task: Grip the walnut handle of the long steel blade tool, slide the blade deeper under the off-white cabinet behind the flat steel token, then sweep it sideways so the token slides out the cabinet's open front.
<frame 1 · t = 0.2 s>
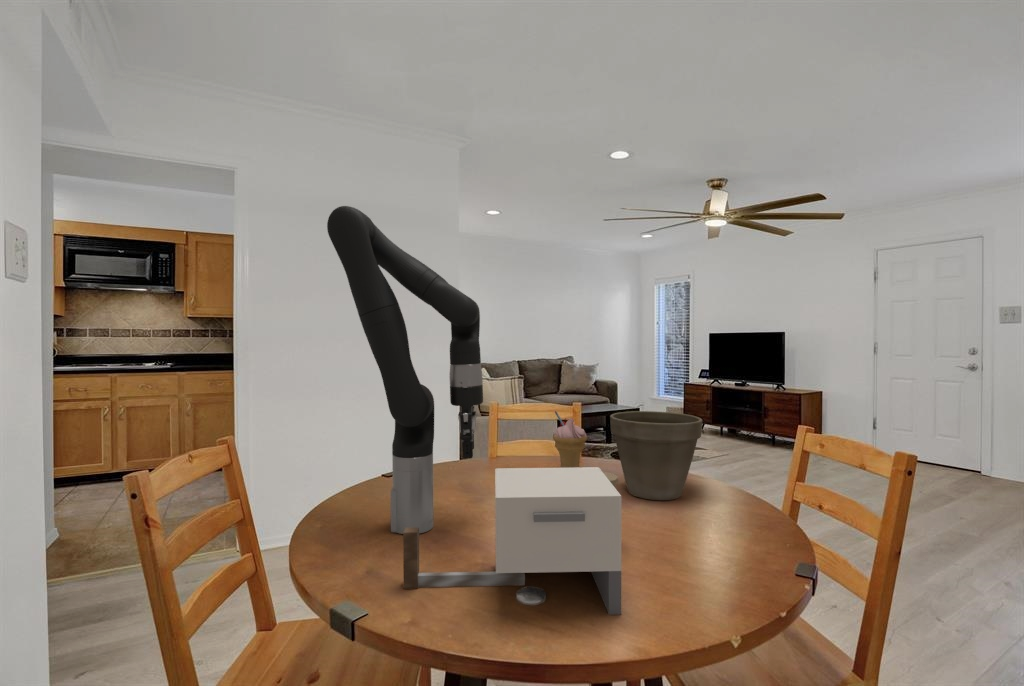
hand: (468, 453, 121), 17 cm above the table, tool pointing down, fingers open, 8 cm apart
plant pot: (655, 493, 147), on the table
ice cream cone: (569, 474, 168), on the table
cabinet: (552, 588, 92), on the table
handle: (605, 548, 110), on the table
token: (531, 599, 89), on the table
blade tool: (411, 585, 93), on the table
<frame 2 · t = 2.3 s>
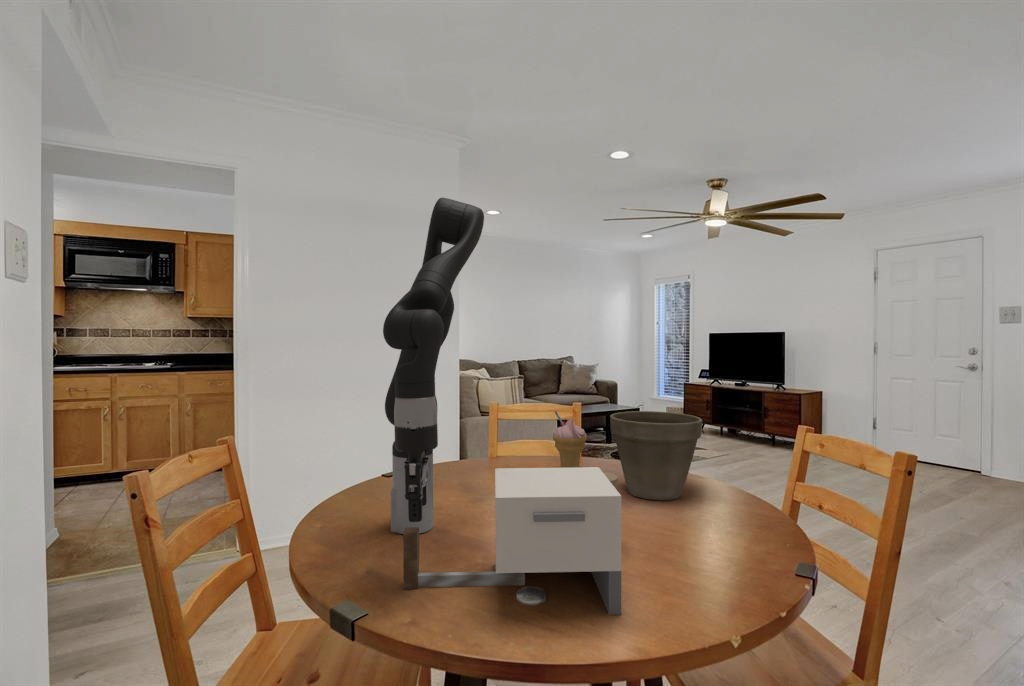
hand: (418, 512, 93), 13 cm above the table, tool pointing down, fingers open, 8 cm apart
nothing on the table moved.
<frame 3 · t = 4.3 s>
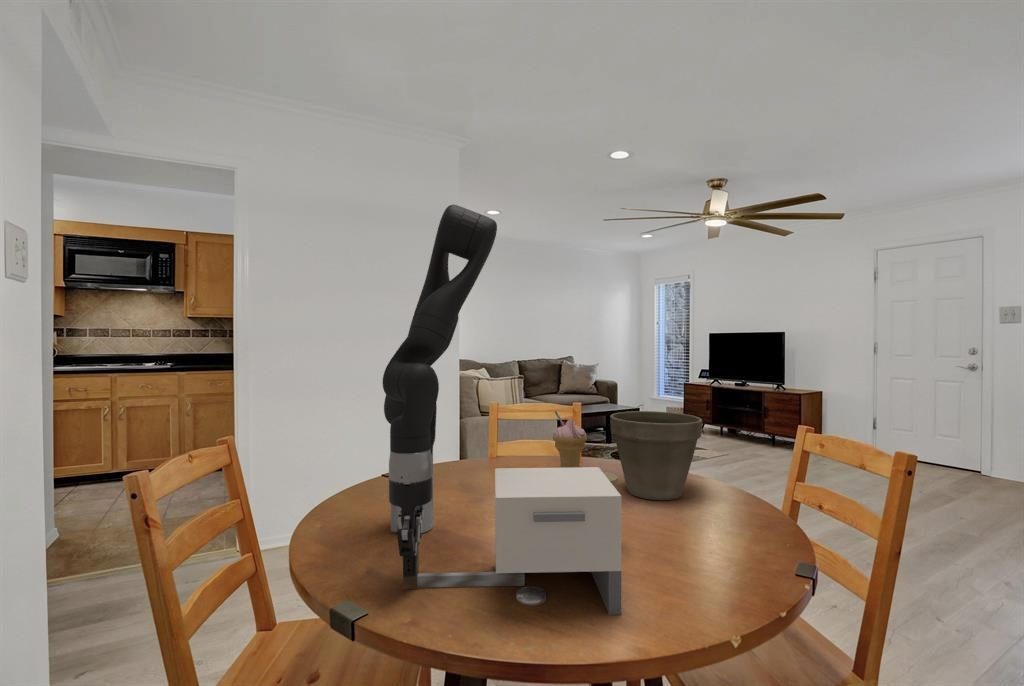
hand: (410, 571, 93), 3 cm above the table, tool pointing down, fingers closed on blade tool, 2 cm apart
blade tool: (411, 586, 93), on the table, touching gripper
everything else where it was.
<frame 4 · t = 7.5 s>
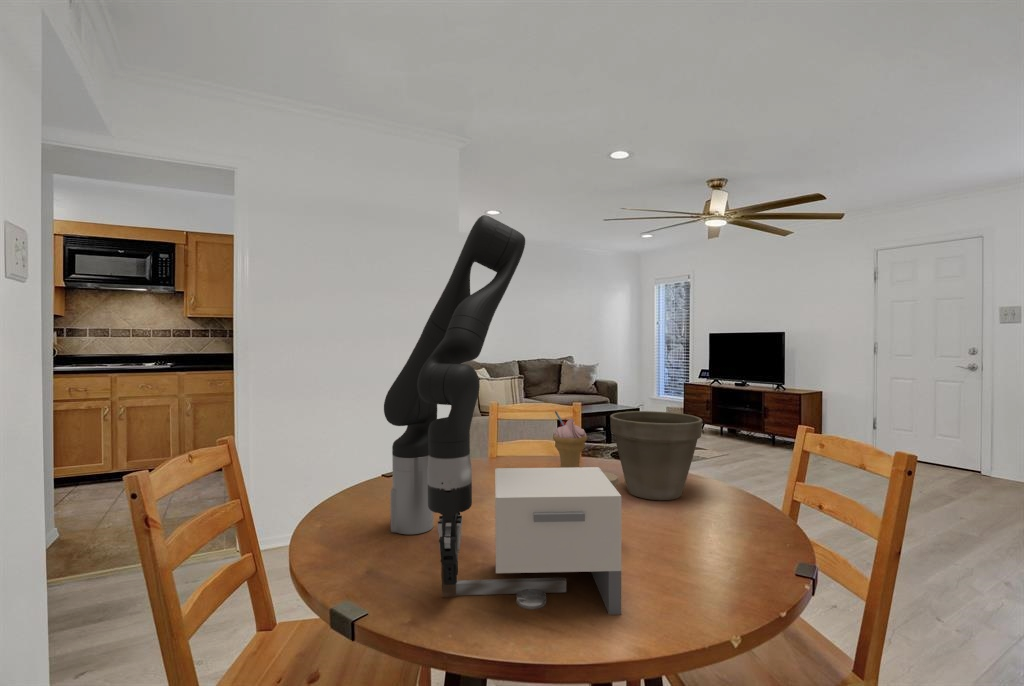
hand: (450, 579, 90), 3 cm above the table, tool pointing down, fingers closed on blade tool, 2 cm apart
token: (531, 602, 88), on the table, touching blade tool
blade tool: (449, 593, 90), on the table, touching gripper, token
everything else where it was.
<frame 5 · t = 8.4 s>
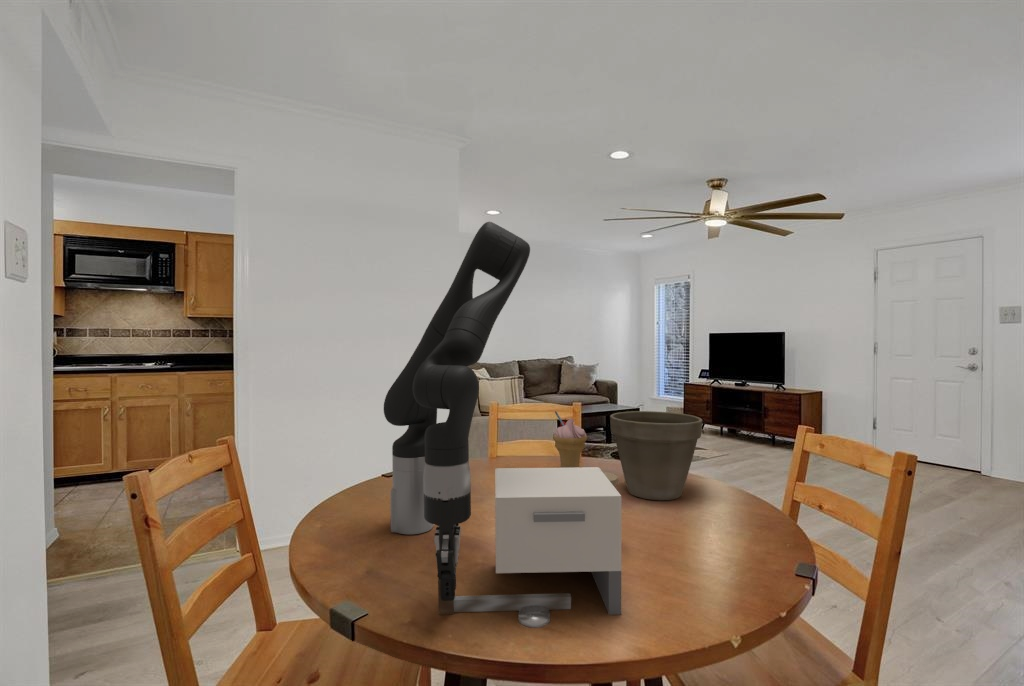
hand: (448, 594, 85), 3 cm above the table, tool pointing down, fingers closed on blade tool, 2 cm apart
token: (534, 619, 82), on the table, touching blade tool
blade tool: (446, 610, 85), on the table, touching gripper, token
everything else where it was.
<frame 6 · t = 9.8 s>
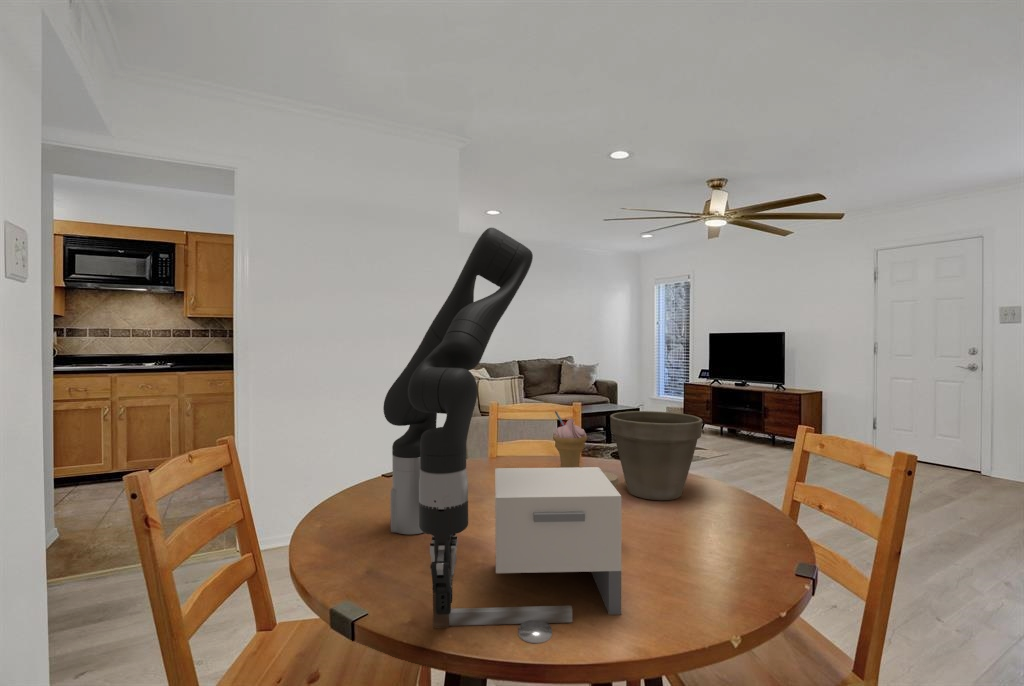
hand: (444, 607, 81), 3 cm above the table, tool pointing down, fingers closed on blade tool, 2 cm apart
token: (535, 635, 78), on the table
blade tool: (441, 623, 81), on the table, touching gripper
everything else where it was.
when the fingers open (3 cm above the table, at t = 10.5 s): blade tool stays where it is, on the table.
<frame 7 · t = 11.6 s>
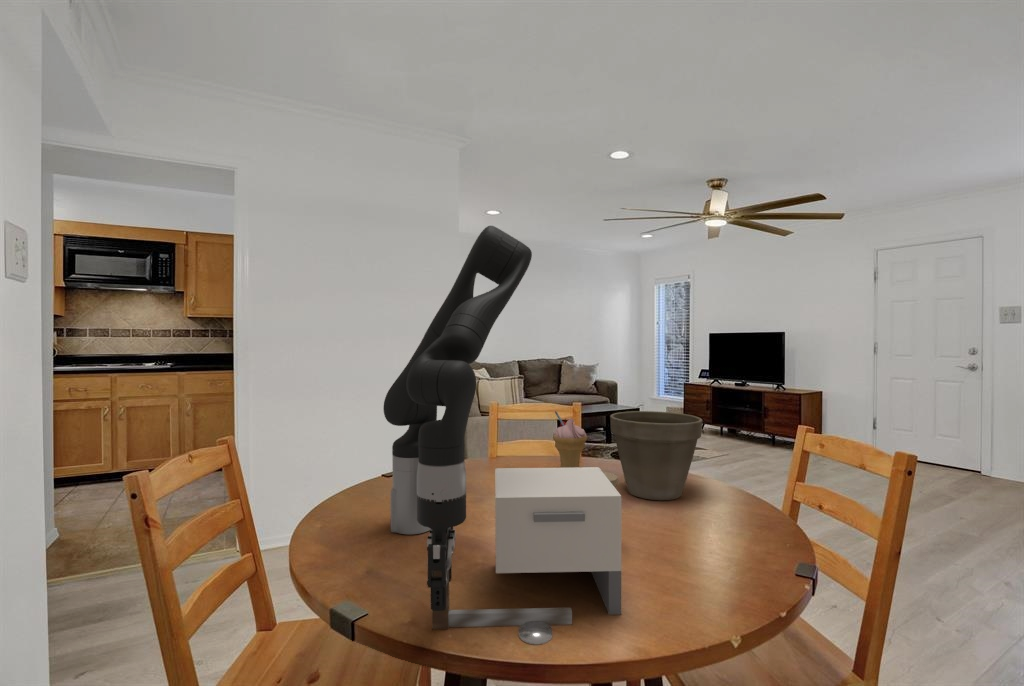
hand: (441, 594, 80), 5 cm above the table, tool pointing down, fingers open, 8 cm apart
blade tool: (440, 625, 81), on the table
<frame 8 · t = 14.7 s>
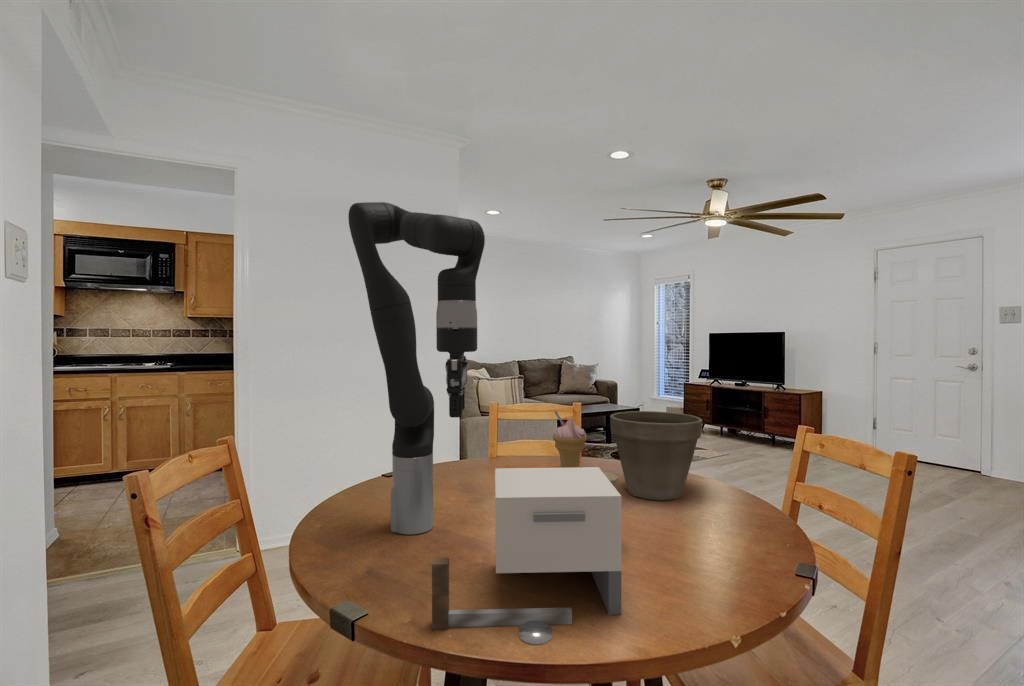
hand: (457, 413, 97), 30 cm above the table, tool pointing down, fingers open, 8 cm apart
nothing on the table moved.
at the end: token inside the target area (1.9 cm from its centre), on the table; the gripper is holding nothing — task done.
